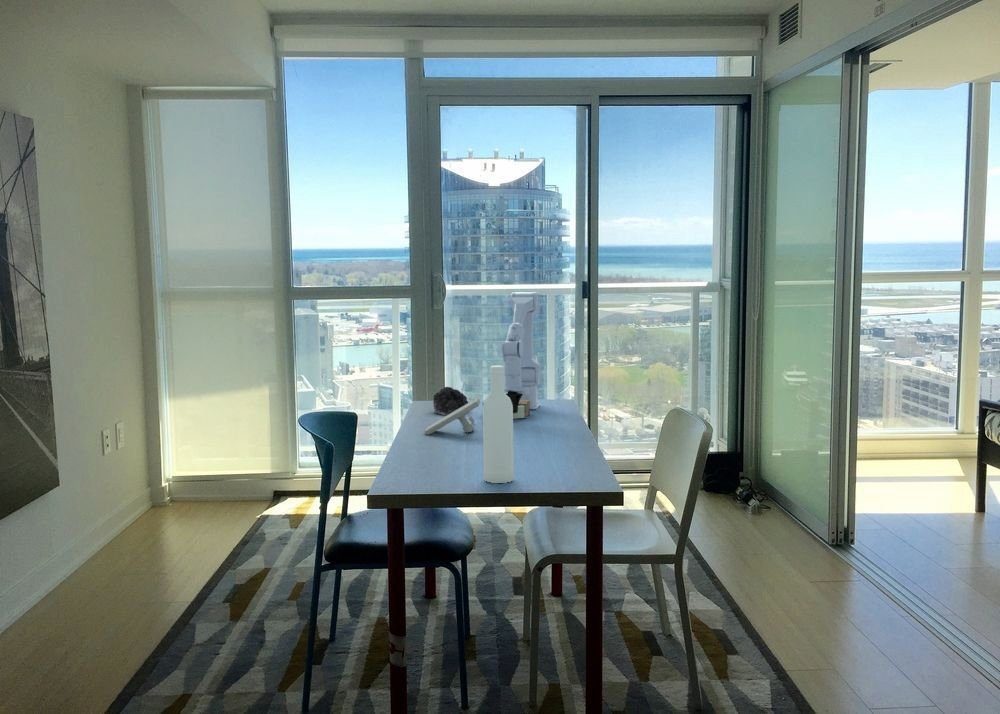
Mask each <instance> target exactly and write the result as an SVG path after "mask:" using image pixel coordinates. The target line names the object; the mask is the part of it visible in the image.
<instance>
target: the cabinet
mask: <svg viewBox="0 0 1000 714" xmlns="http://www.w3.org/2000/svg"><path fill="white" fill-rule="evenodd" d="M483 404H484V401H483V402H482V405H483ZM518 406H526V411H524V412H526V415H527V416H528V415H529V414H531V413H530V412H531V409H530V400H520V401H519V404H518ZM528 417H529V416H528Z"/></svg>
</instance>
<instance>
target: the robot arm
mask: <svg viewBox="0 0 1000 714" xmlns="http://www.w3.org/2000/svg"><path fill="white" fill-rule="evenodd" d="M509 299H510V300H509V303H510V307H511V310H512V311H513V318H512V319H513V320H512V323H510V325H509V326H508V329H507V335H506V339H505V341H503V342H502V346H501V349H502V350H501V351H502V359H503V362H504V371H505V373H504V392H505V394H506V395H507V396H508V397H509V398H510V399H511V402H512V405H513V413H517V412H518V404H519V401H520V400H530V410H538V408H539V407H540V406H541V403H538V384H540V383H541V380H542V369H541V364H540V362H539V361H537V360H536V359H535V358H534V319H535V315H537V314H539V310H540V307H539V306H540V297H539V293H538V292H537V291H532V292H531V291H530V292H529V291H527V292H526V291H525V292H524V291H522V292H520V291H519V292H517V291H512V293H511V294H510V298H509ZM506 392H507V393H506Z"/></svg>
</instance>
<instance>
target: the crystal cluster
mask: <svg viewBox="0 0 1000 714" xmlns="http://www.w3.org/2000/svg"><path fill="white" fill-rule="evenodd" d="M468 403H469V402H468V397H467V396H466V395H465V394H464V393H463V392H461V391H460V390H459V389H456V388H455V389H454V388H453V387H450V386H444V387H443V388H441V389H440V390H439V391H438V392H436V393H435V394H434V395H433V409H434V411H433V413H434V414H437V413H438V414H437V415H440V414H442V415H441V416H447V415H449V414H450V413H452V412H454V411H456V410H457V409H459V408H461V407H462V406H464V405H466V404H468Z"/></svg>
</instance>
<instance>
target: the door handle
mask: <svg viewBox="0 0 1000 714" xmlns="http://www.w3.org/2000/svg"><path fill="white" fill-rule="evenodd" d="M480 403H481V401H480V398H479V397H476V398H475V399H472V400H471V401H470V402H468V404H466V405H464V406H462V407H461V408H459V409H457V410H456V411H454V412H452V413H450V414H449V415H444V417H442V418H440V419H437V421H434V422H433V423H432V424H430V425H428V426H427V427H426V429H425V430H424V433H425V434H429V435H431V434H433V433H434V432H437V431H438V430H440V429H442V428H444V427H445V426H446V425H448V424H450V423H452V422H453V421H455V420H459V422H460V424H461V425H462V427H461V429H462V431H463V432H464V433H465V432H467V433H466V434H469V433H468V432H470V433H472V431H474V429H475V426H474V423H475V419H474V418H473V416H471V415H470V416H468V417H466V414H467V413H469V412H471V411H472V410H474V409H476V408H478V407H479V406H480Z"/></svg>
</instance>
